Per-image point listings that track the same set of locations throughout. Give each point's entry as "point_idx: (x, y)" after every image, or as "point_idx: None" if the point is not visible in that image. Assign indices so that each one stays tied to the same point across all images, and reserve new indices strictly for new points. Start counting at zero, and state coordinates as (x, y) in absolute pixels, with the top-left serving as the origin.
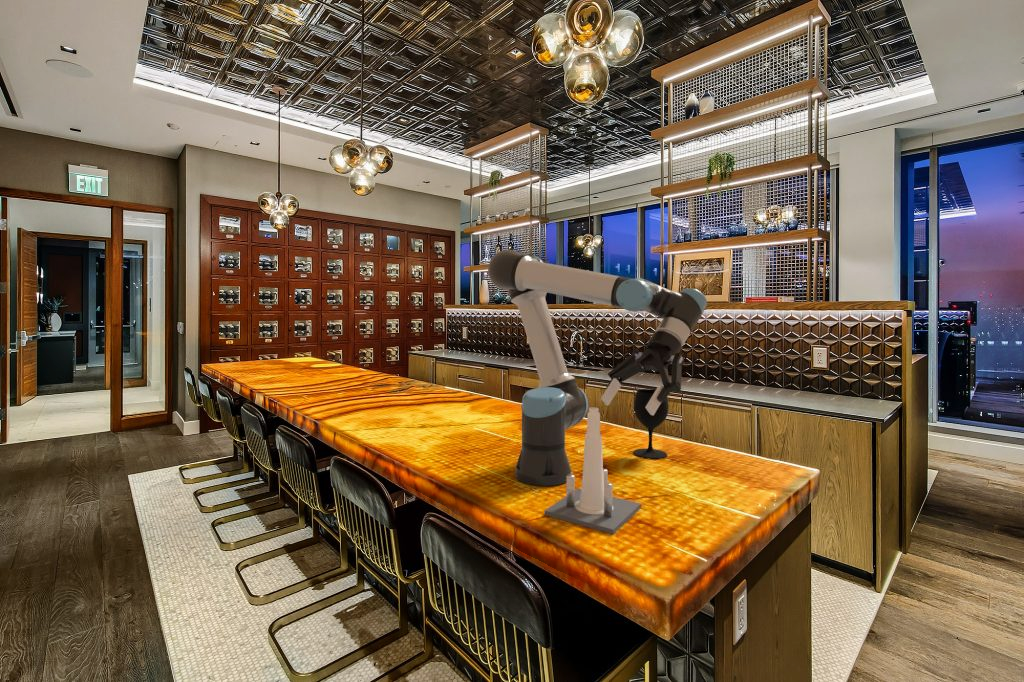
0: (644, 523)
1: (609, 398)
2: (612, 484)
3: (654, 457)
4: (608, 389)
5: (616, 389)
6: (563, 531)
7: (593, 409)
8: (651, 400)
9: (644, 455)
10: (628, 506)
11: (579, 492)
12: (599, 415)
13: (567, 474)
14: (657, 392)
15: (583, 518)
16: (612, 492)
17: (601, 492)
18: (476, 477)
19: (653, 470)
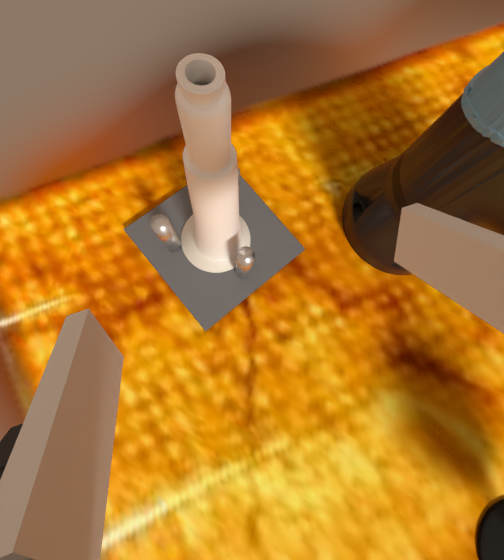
0: (145, 301)
1: (423, 259)
2: (152, 228)
3: (483, 540)
4: (469, 233)
5: (496, 310)
6: (162, 168)
7: (180, 62)
8: (59, 358)
9: (500, 518)
10: (199, 299)
11: (285, 243)
12: (180, 113)
13: (238, 168)
14: (16, 442)
15: (177, 202)
16: (157, 235)
17: (196, 234)
18: (408, 113)
19: (396, 480)
